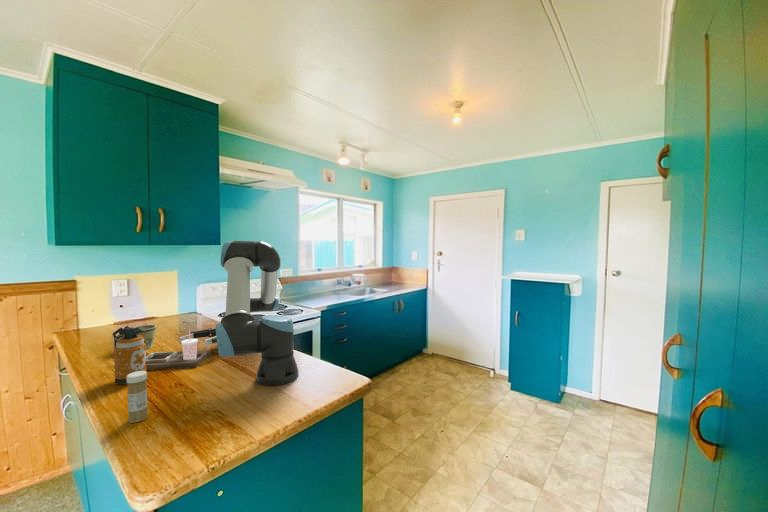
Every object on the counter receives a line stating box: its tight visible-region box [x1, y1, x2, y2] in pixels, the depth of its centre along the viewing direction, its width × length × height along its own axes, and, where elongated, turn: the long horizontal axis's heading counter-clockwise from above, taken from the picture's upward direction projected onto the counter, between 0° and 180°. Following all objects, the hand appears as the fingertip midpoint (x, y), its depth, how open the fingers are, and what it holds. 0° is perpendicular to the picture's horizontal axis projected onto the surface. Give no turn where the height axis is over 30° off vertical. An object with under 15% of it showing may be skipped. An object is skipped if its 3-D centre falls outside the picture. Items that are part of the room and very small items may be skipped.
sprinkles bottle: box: [126, 370, 149, 424], centre depth 88 cm, size 5×5×14 cm
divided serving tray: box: [146, 349, 212, 371], centre depth 131 cm, size 15×23×3 cm, turn 100°
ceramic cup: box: [132, 324, 157, 350], centre depth 150 cm, size 13×10×10 cm
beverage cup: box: [181, 328, 199, 360], centre depth 132 cm, size 6×6×14 cm
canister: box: [112, 325, 147, 385], centre depth 113 cm, size 9×11×20 cm
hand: (192, 342), depth 134 cm, fingers open, 13 cm apart
